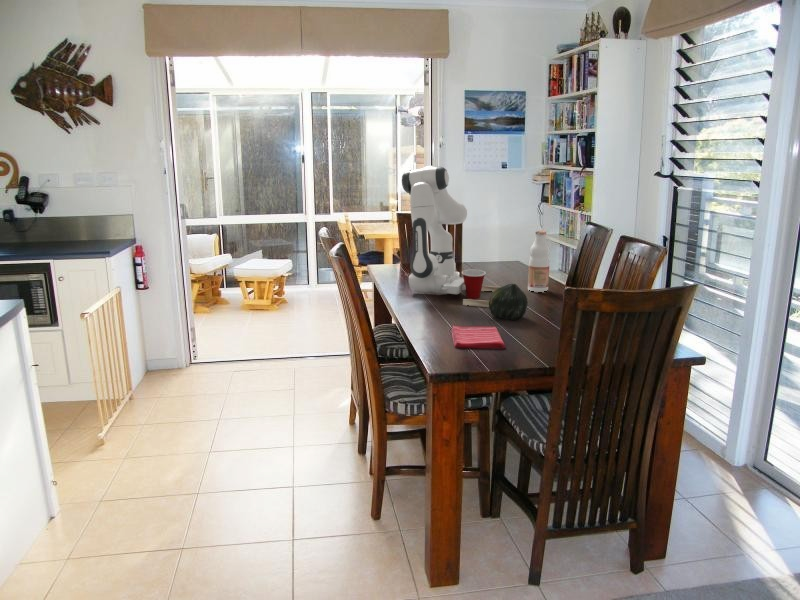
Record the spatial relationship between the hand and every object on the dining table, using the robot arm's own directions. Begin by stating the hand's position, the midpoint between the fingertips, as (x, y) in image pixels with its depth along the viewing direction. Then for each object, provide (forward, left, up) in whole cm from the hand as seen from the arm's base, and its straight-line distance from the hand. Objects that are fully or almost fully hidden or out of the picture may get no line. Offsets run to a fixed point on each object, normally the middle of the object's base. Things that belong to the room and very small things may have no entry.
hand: (473, 286), depth 286 cm
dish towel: (+63, +14, -6) cm, 65 cm away
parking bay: (0, +7, -5) cm, 9 cm away
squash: (+31, +20, -5) cm, 37 cm away
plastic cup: (0, 0, -5) cm, 5 cm away
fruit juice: (-24, +26, -5) cm, 36 cm away
